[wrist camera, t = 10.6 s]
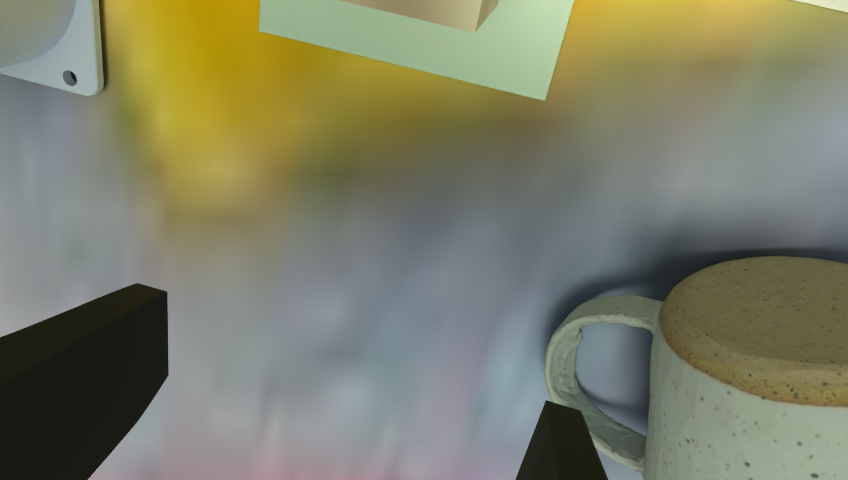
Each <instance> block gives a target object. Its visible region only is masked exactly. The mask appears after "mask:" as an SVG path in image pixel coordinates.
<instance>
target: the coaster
mask: <svg viewBox="0 0 848 480" xmlns="http://www.w3.org/2000/svg"><path fill="white" fill-rule="evenodd" d="M573 3H574V0H498V5H497V7H496V8H495V9H494V10H493V12H492V13H491V14H490V15H489V16H488V18H487V19H486V20H485V21H484V22H483V24H482V25H481V26H480V27H479V28H478V30H477V31H476V32H475V33H474V32H470V31H466V30H461V29H457V28H453V27H449V26H445V25H441V24H436V23H432V22H428V21H424V20H420V19H416V18H411V17H407V16H403V15H399V14H395V13H391V12H386V11H382V10H378V9H374V8H370V7H366V6H361V5H357V4H353V3H349V2H345V1H341V0H260V17H259V31H261V32H265V33H269V34H273V35H277V36H282V37H286V38H290V39H294V40H298V41H302V42H306V43H310V44H314V45H318V46H322V47H327V48H331V49H335V50H339V51H343V52H347V53H351V54H355V55H359V56H363V57H367V58H372V59H376V60H380V61H384V62H388V63H392V64H396V65H400V66H404V67H408V68H413V69H417V70H421V71H425V72H429V73H433V74H437V75H441V76H445V77H449V78H453V79H458V80H462V81H466V82H470V83H474V84H478V85H482V86H486V87H490V88H494V89H498V90H503V91H507V92H511V93H515V94H519V95H523V96H527V97H531V98H535V99H539V100H543V101H545V99H546V95H547V92H548V89H549V85H550V82H551V78H552V75H553V72H554V68H555V65H556V61H557V58H558V54H559V51H560V48H561V44H562V41H563V37H564V34H565V30H566V27H567V24H568V20H569V17H570V13H571V10H572V6H573Z"/></svg>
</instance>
